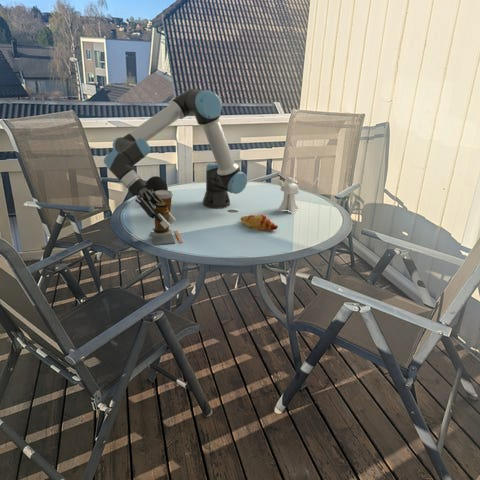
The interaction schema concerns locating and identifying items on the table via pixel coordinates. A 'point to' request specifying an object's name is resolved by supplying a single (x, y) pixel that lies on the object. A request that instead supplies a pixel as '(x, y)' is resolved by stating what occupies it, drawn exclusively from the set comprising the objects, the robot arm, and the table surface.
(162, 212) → the condiment
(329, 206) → the table surface
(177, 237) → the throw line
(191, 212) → the table surface
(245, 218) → the croissant
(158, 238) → the mat
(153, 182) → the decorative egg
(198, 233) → the table surface
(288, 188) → the white mech figurine
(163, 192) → the disposable coffee cup
